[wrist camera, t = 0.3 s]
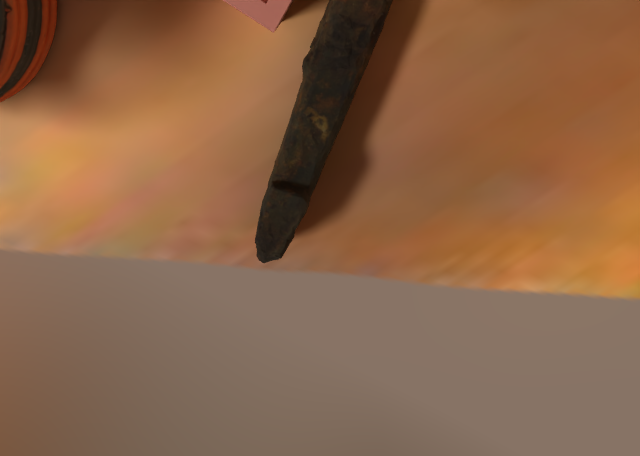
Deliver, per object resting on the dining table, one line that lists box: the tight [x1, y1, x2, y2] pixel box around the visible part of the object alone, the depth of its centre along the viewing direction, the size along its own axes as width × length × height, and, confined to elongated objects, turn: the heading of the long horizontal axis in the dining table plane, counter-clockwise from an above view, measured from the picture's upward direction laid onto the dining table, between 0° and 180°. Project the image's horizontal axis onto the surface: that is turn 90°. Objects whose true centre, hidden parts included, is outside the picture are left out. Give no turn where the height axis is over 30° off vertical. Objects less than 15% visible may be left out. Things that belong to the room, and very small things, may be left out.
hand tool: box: [255, 0, 392, 263], centre depth 34 cm, size 19×4×5 cm, turn 157°
